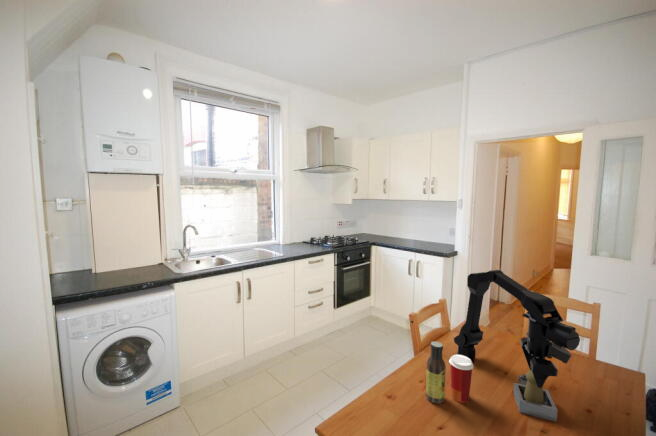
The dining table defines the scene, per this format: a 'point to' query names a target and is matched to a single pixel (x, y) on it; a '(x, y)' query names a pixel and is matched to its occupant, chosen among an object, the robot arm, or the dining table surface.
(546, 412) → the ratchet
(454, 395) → the paper cup
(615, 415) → the dining table surface
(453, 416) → the dining table surface
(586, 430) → the dining table surface
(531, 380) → the cork
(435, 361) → the sauce bottle
